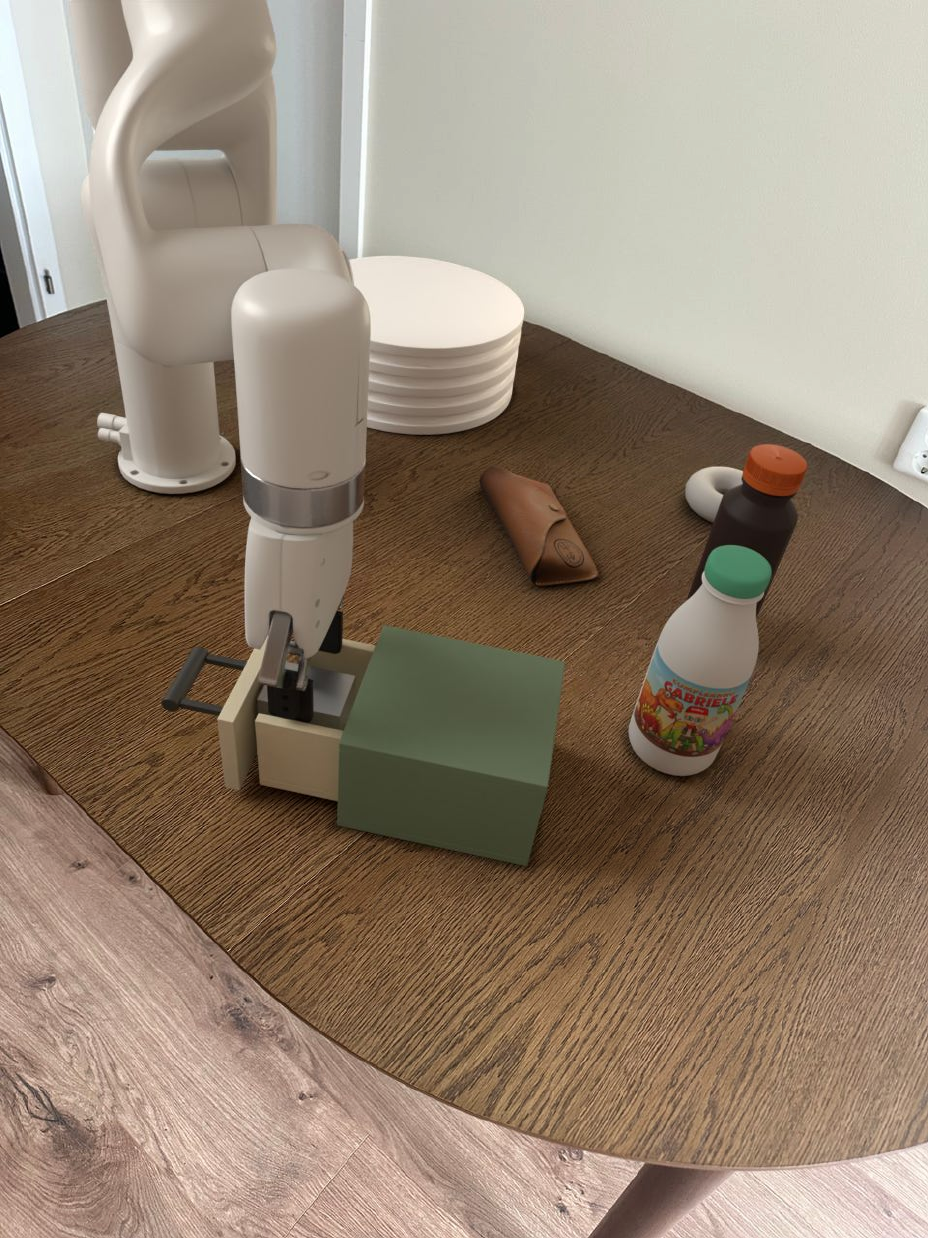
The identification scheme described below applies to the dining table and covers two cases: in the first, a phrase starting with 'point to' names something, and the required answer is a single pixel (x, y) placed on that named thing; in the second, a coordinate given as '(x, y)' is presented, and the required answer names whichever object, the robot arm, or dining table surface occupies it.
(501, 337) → the plate stack
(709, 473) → the donut
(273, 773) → the drawer
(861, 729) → the dining table surface
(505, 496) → the sunglasses case
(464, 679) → the cabinet
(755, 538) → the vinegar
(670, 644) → the milk bottle
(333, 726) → the matte grey box
